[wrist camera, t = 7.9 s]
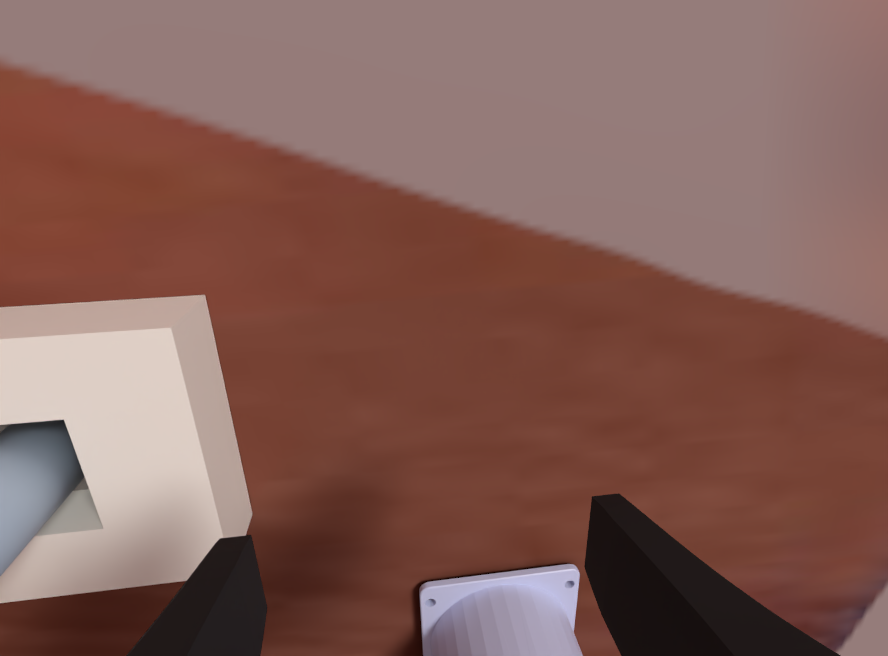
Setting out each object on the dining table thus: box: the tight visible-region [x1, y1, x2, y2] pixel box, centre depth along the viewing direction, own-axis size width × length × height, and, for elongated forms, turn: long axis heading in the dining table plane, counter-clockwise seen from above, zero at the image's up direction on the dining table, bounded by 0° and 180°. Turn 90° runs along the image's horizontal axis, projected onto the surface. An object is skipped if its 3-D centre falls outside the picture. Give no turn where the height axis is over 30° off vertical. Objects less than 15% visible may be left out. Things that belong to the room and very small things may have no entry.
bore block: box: [0, 295, 252, 603], centre depth 17 cm, size 10×12×3 cm
